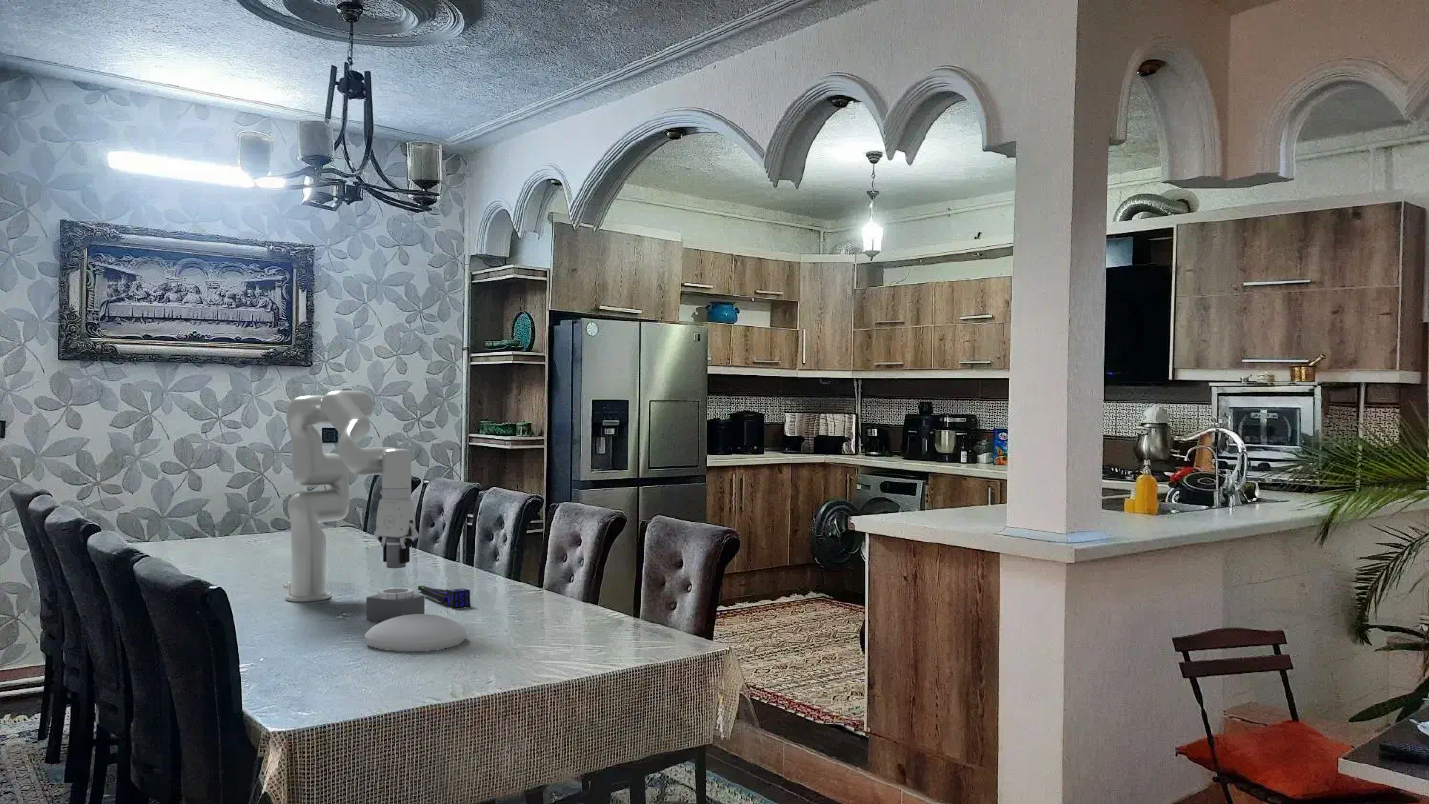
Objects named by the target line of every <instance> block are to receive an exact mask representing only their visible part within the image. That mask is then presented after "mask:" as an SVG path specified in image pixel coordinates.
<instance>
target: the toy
mask: <svg viewBox="0 0 1429 804" xmlns="http://www.w3.org/2000/svg"><path fill="white" fill-rule="evenodd" d="M417 590H418V591H420V592H421V593H423V594H424V595H427V596H428V597H430V598H433V599H436V600H437V601H438V602H443V603H446V607H448V608H450V609H452V610H457V608H459V609H465V608H464V607H467V608H471V589H468V588H453V589H447V588H446V589H445V588H444V589H443V588H441V589H440V588H433V587H428V586H425V585H418V586H417Z"/></svg>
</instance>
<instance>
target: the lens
mask: <svg viewBox="0 0 1429 804" xmlns="http://www.w3.org/2000/svg"><path fill="white" fill-rule="evenodd" d="M405 542H406V539H405ZM386 544H387V548H386V562H385V563H386V568H387V569H401V568H406V567H407V563H403V564H401V563H400V549H401V548H402V547H401V542H400V538H392V537H387V542H386Z"/></svg>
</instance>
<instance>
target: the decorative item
mask: <svg viewBox="0 0 1429 804" xmlns="http://www.w3.org/2000/svg"><path fill="white" fill-rule="evenodd" d="M466 635H467V629H466V628H465V626H463V625H462V624H461V623H460V622H458V621H456V620H454V619H452V618H448V617H446V616H442V615H437V614H429V613H424V614H411V615H403V616H398V617H394V618H391V619H388V620H385V621H383V622H381V621H380V622H379V623H377V624H375V625H373V626H371V628H369V629H368V630H367V631H366V632H365V634H364V639H365V641H366V643H367V645H368V646H369V647H370V646H371V647H370V648H372V647H374V648H373V649H376V648H379V649H378V650H382V649H388V650H387V651H390V650H396V651H395V652H401V651H425V652H428V651H427V650H436V651H438V650H437V649H443V650H445V649H444V648H447V649H450V648H449V647H451V648H453V647H452V646H454V647H456V646H455V645H457V646H459V645H461V644H463V642H464V641H465V639H466ZM460 643H461V644H460Z"/></svg>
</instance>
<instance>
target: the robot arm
mask: <svg viewBox="0 0 1429 804" xmlns="http://www.w3.org/2000/svg"><path fill="white" fill-rule="evenodd" d="M374 409H375V408H374V402H373V400H372V398H371V395H369V394H368V393H367V392H365V391H362V390H334V391H333V390H332V391H329V392H327V393H326V394H325V395H302V396H297V397H295V398H293V399H292V400H291V401H290V403H289V404H288V406H287V409H286V416H285V417H286V424H287V428H288V432H289V435H290V442H291V443H290V444H291V463H292V464H291V465H292V466H291V467H292V478H293V481H294V484H296V485H298V486H300V487H317V486H318V487H319V486H320V487H321V486H326V489H322V490H320V489H317V490H304V491H301V492H297V493H295V494H293V495H292V496H291V497H290V499H289V500H288V502H287V503H288V504H287V512H288V517H289V523H290V531H291V533H290V535H291V536H290V539H291V543H290V545H291V554H290V558H291V560H290V561H291V566H290V569H291V571H290V581H288V582H287V583H286V584H284V585H283V589H284V590H288V593H287V594H285V596H284V597H285V598H284V599H285V601H289V602H295V603H296V602H297V603H300V602H302V603H303V602H304V603H305V602H317V601H322V600H327V599H329V598H331V597H332V592H331V591H328V590H326V589H327V588H326V586H327V585H326V584H327V583H326V582H327V580H326V572H327V569H326V567H327V565H326V564H327V563H326V562H327V537H326V534H325V532H324V530H323V529H322V528H321V526H320V525H319V524H321V523H327V522H337V521H341V520H343V519H345V518H346V517H347V516H348V513H349V510H350V479H349V477H350V475H349V474H350V473H349V471H350V472H351V473H352V474H354V475H357V476H363V477H364V476H377V475H380V476H381V489H380V491H379V494H380V495H381V499H379V502H378V506H377V511H376V519H375V520H376V522H375V530H374V532H373V535H374V536H375V537H376V538H377V540H378V542H379V543H380V546H381V548H382V562H383V563H386V548H387V544H386V542H387V537H392V538H400V542H401V547H402V548H401V549H400V563H401V564H403V563H406V564H407V563H410V553H411V551H410V550H411V549H410V548H412V546H413V545H414V543H415V542H416V541H418V539H419V538H420V534H419V533H418V532H419V531H417V528H416V514H415V513H416V512H415V506H414V500H413V499H412V453H411V450H410V449H408V448H396V447H392V446H391V447H388V446H380V447H376V446H375V447H360V446H359V445H358V442H360V441H361V440H363V439H364V438H365V437H366V436H367V435H368V433H369V432H370V430H371V423H370V422H371V421H370V420H369V418H370V417H371V416H372V414H373V413H374ZM314 425H332V426H333V427H334V429H335V430H336V431H337V432H338V434H339V435H340V436H339V438H338V442H337V443H338V444H337V446H338V447H337V449H338V453H324V451H323V450H324V449H323V438H322V436H321V434H320V432H319V431H318V429H317V428H316V427H315V426H314ZM405 539H406V542H405Z"/></svg>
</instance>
